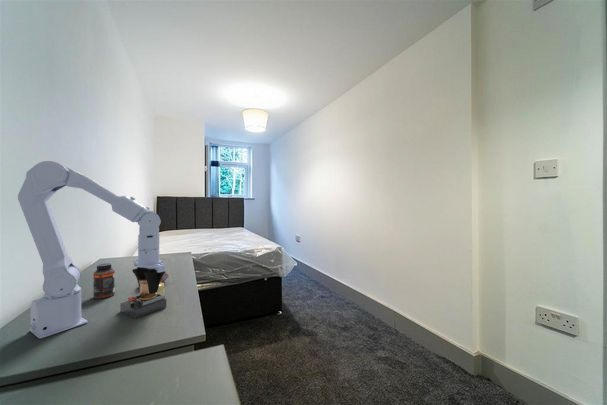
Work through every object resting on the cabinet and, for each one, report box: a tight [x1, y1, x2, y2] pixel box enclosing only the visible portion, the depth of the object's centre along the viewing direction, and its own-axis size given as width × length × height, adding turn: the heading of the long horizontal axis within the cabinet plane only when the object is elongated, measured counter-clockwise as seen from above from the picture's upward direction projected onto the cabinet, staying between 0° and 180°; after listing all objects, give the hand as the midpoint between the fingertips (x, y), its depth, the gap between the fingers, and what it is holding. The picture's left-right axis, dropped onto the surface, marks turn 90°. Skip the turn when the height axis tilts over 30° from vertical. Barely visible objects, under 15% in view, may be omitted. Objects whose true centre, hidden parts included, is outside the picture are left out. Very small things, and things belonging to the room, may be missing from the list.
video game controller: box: [137, 271, 169, 287], centre depth 98 cm, size 10×5×7 cm, turn 143°
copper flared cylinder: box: [139, 278, 157, 301], centre depth 78 cm, size 5×5×6 cm
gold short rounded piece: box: [157, 282, 165, 295], centre depth 87 cm, size 6×6×4 cm
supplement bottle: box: [92, 262, 116, 300], centre depth 87 cm, size 6×6×11 cm
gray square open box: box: [119, 292, 167, 320], centre depth 77 cm, size 9×9×5 cm
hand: (148, 291), depth 78 cm, fingers closed on copper flared cylinder, 5 cm apart
